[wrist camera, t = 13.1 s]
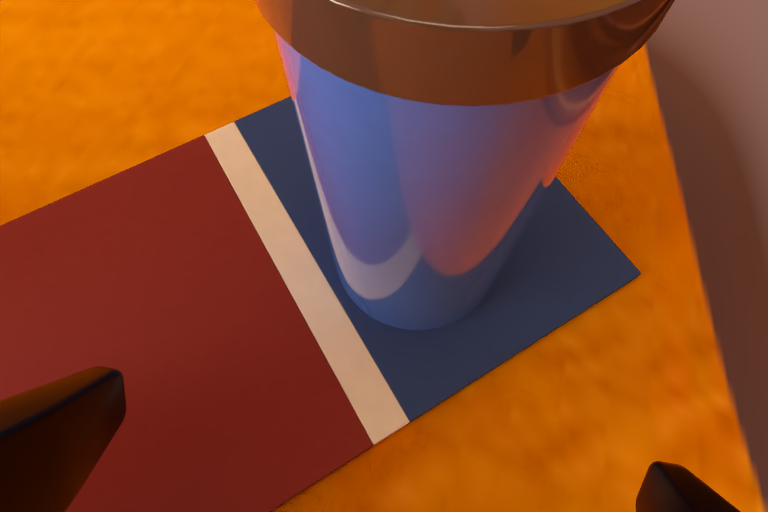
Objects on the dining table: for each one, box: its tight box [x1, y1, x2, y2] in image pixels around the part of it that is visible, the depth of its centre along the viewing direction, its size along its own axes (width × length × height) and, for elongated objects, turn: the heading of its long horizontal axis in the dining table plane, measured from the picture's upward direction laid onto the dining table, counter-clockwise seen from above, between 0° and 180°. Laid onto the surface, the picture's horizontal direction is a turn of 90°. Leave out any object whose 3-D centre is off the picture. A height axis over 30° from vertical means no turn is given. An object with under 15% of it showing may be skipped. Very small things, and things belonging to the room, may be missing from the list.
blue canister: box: [254, 0, 674, 330], centre depth 12 cm, size 7×7×13 cm
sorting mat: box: [0, 96, 641, 512], centre depth 16 cm, size 14×38×1 cm, turn 121°
